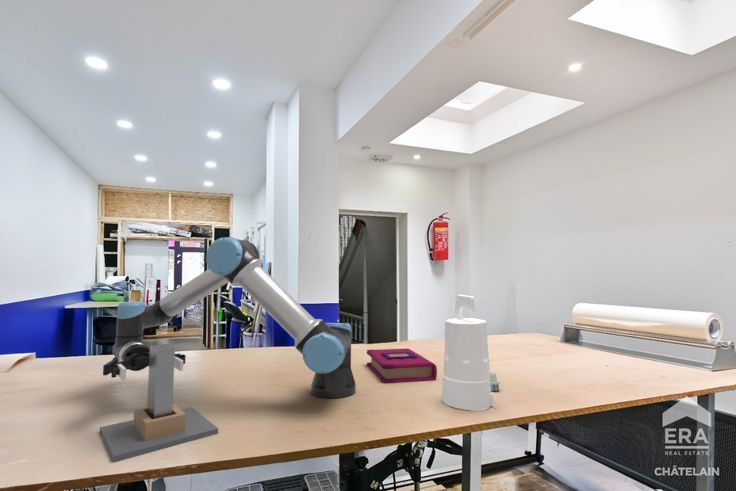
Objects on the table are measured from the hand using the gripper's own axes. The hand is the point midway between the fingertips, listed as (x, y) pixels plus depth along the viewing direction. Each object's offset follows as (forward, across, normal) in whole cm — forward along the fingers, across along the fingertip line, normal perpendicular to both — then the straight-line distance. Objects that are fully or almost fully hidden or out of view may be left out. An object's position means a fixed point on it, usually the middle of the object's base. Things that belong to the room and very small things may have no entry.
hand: (154, 369), depth 101 cm
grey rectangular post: (+6, 0, -13) cm, 14 cm away
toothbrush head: (+33, -101, -15) cm, 107 cm away
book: (+5, -89, -15) cm, 90 cm away
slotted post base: (+6, 0, -14) cm, 15 cm away
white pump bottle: (+44, -79, -15) cm, 91 cm away
